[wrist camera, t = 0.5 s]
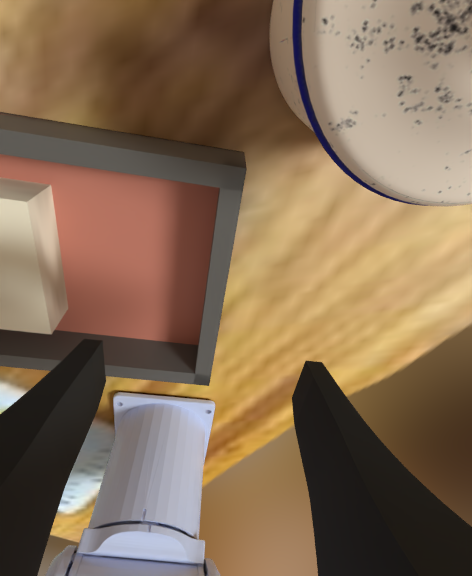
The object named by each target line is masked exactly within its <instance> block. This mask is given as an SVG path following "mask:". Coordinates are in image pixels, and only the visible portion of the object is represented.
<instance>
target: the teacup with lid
mask: <svg viewBox="0 0 472 576" xmlns="http://www.w3.org/2000/svg"><path fill="white" fill-rule="evenodd" d="M269 37H270V54H271V61H272V66H273V71H274V74H275V78H276V81H277V84H278V86H279V89H280V91H281V93H282V95H283V97H284V99H285V101H286V102H287V104H288V106H289V107H290V108H291V110H292V111H293V112H294V114H295V115H296V116H297V117H298V118H299V119H300V120H301V121H302V122H303V123H304V124H306V125H307V126H308V127H309V128H310V129H311V130H312V131H313V132H314V133H315V134H316V136H317V138H318V139H319V141H320V143H321V144H322V146H323V148H324V149H325V150H326V152H327V153H328V154H329V156H330V157H331V158H332V160H333V161H334V162H335V163H336V164H337V165H338V166H339V167H340V168H341V169H342V170H343V171H344V172H345V173H346V174H347V175H348V176H350V177H351V178H352V179H353V180H354V181H356V182H357V183H359V184H360V185H362V186H363V187H365V188H367V189H368V190H370V191H372V192H374V193H376V194H379V195H381V196H383V197H386V198H389V199H392V200H395V201H399V202H403V203H408V204H415V205H423V206H457V205H466V204H472V0H273V4H272V11H271V18H270V31H269Z"/></svg>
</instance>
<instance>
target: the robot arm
mask: <svg viewBox="0 0 472 576" xmlns="http://www.w3.org/2000/svg"><path fill="white" fill-rule="evenodd" d="M105 383H106V376H105V364H104V351H103V341H102V340H92V339H83V340H82V341H81V342H80V343H79V344H78V345H77V346H76V347H75V348H74V349H73V350H72V351H71V352H70V353H69V354H68V355H67V356H66V357H65V358H64V359H63V360H62V361H61V362H60V363H59V364H58V365H57V366H56V367H55V368H54V369H52V370H51V371H50V372H49V373H48V374H47V375H46V376H45V377H44V378H43V379H42V380H41V381H39V382H38V383H37V384H36V385H35V386H34V387H33V388H32V389H31V390H29V391H28V392H27V393H26V394H25V395H23V396H22V397H21V398H20V399H19V400H17V401H16V402H15V403H14V404H13V405H12V406H10V407H9V408H8V409H7V410H5V411H4V412H3V413H2V414H0V576H37V575H38V571H39V568H40V564H41V561H42V558H43V554H44V551H45V547H46V545H47V541H48V538H49V535H50V532H51V528H52V525H53V522H54V519H55V516H56V513H57V510H58V507H59V504H60V500H61V497H62V494H63V491H64V488H65V485H66V483H67V480H68V478H69V475H70V473H71V470H72V468H73V466H74V463H75V461H76V459H77V456H78V454H79V452H80V449H81V447H82V445H83V442H84V440H85V438H86V435H87V433H88V431H89V428H90V426H91V424H92V421H93V419H94V417H95V414H96V412H97V409H98V406H99V403H100V400H101V397H102V393H103V390H104V386H105ZM292 403H293V415H294V424H295V429H296V435H297V439H298V444H299V448H300V453H301V458H302V463H303V467H304V472H305V477H306V481H307V486H308V491H309V497H310V503H311V511H312V520H313V528H314V536H315V546H316V555H317V566H318V576H472V527H471V526H470V525H469V524H467V523H466V522H465V521H464V520H462V519H461V518H460V517H459V516H458V515H457V514H456V513H454V512H453V511H452V510H451V509H450V508H448V507H447V506H446V505H445V504H443V502H441V501H440V500H439V499H438V498H437V497H436V496H435V495H434V494H433V493H431V492H430V491H429V490H428V489H427V488H426V487H425V486H424V485H423V484H422V483H421V482H420V481H419V480H418V479H417V478H416V477H415V476H413V475H412V474H411V473H410V472H409V471H408V470H407V469H406V468H405V467H404V466H403V465H402V464H401V462H400V461H399V460H398V459H397V458H396V457H395V456H394V455H393V454H392V453H391V452H390V451H389V450H388V448H387V447H386V446H385V445H384V444H383V443H382V442H381V441H380V439H379V438H378V437H377V436H376V435H375V433H374V432H373V431H372V430H371V429H370V427H369V426H368V425H367V424H366V422H365V421H364V420H363V419H362V418H361V416H360V415H359V413H358V412H357V411H356V409H355V408H354V407H353V405H352V404H351V403H350V401H349V400H348V399H347V397H346V396H345V395H344V393H343V392H342V390H341V389H340V387H339V386H338V385H337V383H336V382H335V380H334V379H333V377H332V376H331V375H330V373H329V372H328V370H327V369H326V367H325V366H324V365H323V363H322V362H313V361H305V364H304V367H303V369H302V372H301V375H300V378H299V380H298V383H297V386H296V388H295V391H294V394H293V397H292ZM113 406H114V423H115V440H114V444H113V447H112V450H111V454H110V457H109V460H108V464H107V467H106V470H105V473H104V477H103V480H102V483H101V487H100V490H99V493H98V497H97V500H96V503H95V507H94V510H93V513H92V517H91V520H90V523H89V527H88V528H85V529H84V530H83V533H82V537H81V540H80V543H79V547H78V550H77V546H70V545H69V546H67V547H66V548H65V549H64V551H63V552H61V553H60V554H59V555H57V556H56V557H55V558H54V559H53V561H52V563H51V565H50V567H49V569H48V571H47V573H46V576H220V573H219V572H218V570H217V568H216V566H215V564H214V562H213V560H212V559H209V558H204V550H205V541H204V540H198V538H199V524H200V508H201V492H202V478H203V465H204V461H205V456H206V451H207V446H208V441H209V436H210V431H211V426H212V421H213V416H214V411H215V403H214V402H213V401H211V400H201V399H190V398H179V397H168V396H157V395H146V394H135V393H124V392H118V393H115V394H114V397H113Z"/></svg>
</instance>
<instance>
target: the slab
mask: <svg viewBox="0 0 472 576" xmlns="http://www.w3.org/2000/svg"><path fill="white" fill-rule="evenodd" d="M67 310H68V302H67V294H66V287H65V280H64V273H63V266H62V259H61V252H60V245H59V238H58V231H57V223H56V216H55V209H54V202H53V195H52V188H51V185H49V184H42V183H35V182H28V181H22V180H15V179H8V178H1V177H0V329H4V330H13V331H23V332H33V333H42V334H52V333H53V331H54V330H55V328H56V327H57V325H58V324H59V322H60V321H61V319H62V317H63V316H64V314H65V313H66V311H67Z"/></svg>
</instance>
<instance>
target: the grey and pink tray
mask: <svg viewBox="0 0 472 576" xmlns="http://www.w3.org/2000/svg"><path fill="white" fill-rule="evenodd" d="M246 169H247V168H246V162H245V155H244V152H239V151H233V150H227V149H221V148H215V147H209V146H203V145H197V144H191V143H185V142H179V141H173V140H166V139H160V138H154V137H148V136H142V135H136V134H130V133H124V132H118V131H112V130H106V129H100V128H94V127H88V126H82V125H76V124H70V123H64V122H58V121H52V120H45V119H39V118H33V117H27V116H21V115H15V114H9V113H3V112H0V177H1V178H8V179H15V180H22V181H28V182H35V183H42V184H49V185H51V188H52V195H53V202H54V209H55V216H56V223H57V231H58V238H59V245H60V252H61V259H62V266H63V273H64V280H65V287H66V294H67V302H68V310H67V311H66V313H65V314H64V316H63V317H62V319H61V321H60V322H59V324H58V325H57V327H56V328H55V330H54V331H53V333H52V334H42V333H33V332H23V331H13V330H4V329H0V366H6V367H16V368H27V369H37V370H48V371H51V370H52V369H54V368H55V367H56V366H57V365H58V364H59V363H60V362H61V361H62V360H63V359H64V358H65V357H66V356H67V355H68V354H69V353H70V352H71V351H72V350H73V349H74V348H75V347H76V346H77V345H78V344H79V343H80V342H81V341H82V340H83V339H92V340H102V341H103V351H104V364H105V376H111V377H122V378H133V379H143V380H154V381H164V382H175V383H185V384H196V385H207V386H209V383H210V377H211V371H212V365H213V359H214V354H215V348H216V342H217V336H218V330H219V325H220V319H221V313H222V307H223V302H224V296H225V290H226V284H227V278H228V273H229V267H230V261H231V255H232V250H233V244H234V238H235V232H236V226H237V221H238V215H239V209H240V203H241V197H242V192H243V186H244V180H245V174H246Z"/></svg>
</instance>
